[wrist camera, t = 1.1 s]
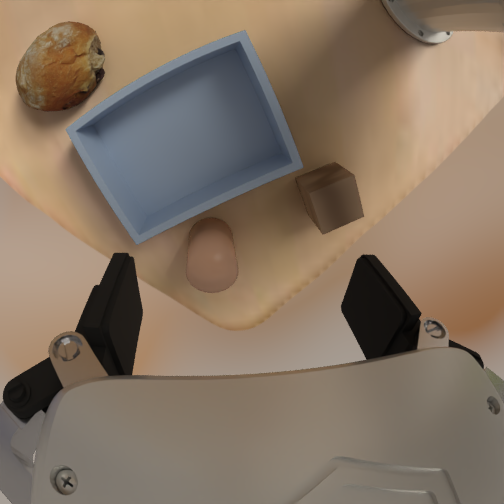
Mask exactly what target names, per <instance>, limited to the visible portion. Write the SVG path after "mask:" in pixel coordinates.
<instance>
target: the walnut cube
mask: <svg viewBox="0 0 504 504" xmlns="http://www.w3.org/2000/svg"><path fill="white" fill-rule="evenodd" d="M295 179H296V182H297V184H298V187H299V190H300V192H301V195H302V198H303V201H304V203H305V206H306V209H307V212H308V215H309V216H310V218H311V219H312V220H313V222H314V223H315V224H316V226H317V227H318V229H319V230H320V231H321V233H322V234H326V233H328V232H330V231H332V230H335V229H337V228H339V227H341V226H344V225H346V224H348V223H350V222H353V221H355V220H357V219H359V218H362V217H364V214H363V209H362V205H361V201H360V196H359V192H358V188H357V184H356V180H355V176H354V174H352V173H351V172H349V171H348V170H346V169H345V168H343V167H342V166H340V165H339V164H337V163H336V162H333V163H331V164H328V165H326V166H323V167H321V168H318V169H316V170H314V171H311V172H309V173H306V174H304V175H301V176H299V177H297V178H295Z"/></svg>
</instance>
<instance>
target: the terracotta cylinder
mask: <svg viewBox="0 0 504 504" xmlns="http://www.w3.org/2000/svg"><path fill="white" fill-rule="evenodd" d="M186 275H187V278H188V281H189V282H190V283H191V285H192V286H194V287H195V288H196V289H198V290H200V291H203V292H208V293H215V292H221V291H223V290H226V289H227V288H229V287H230V286H231V285H232V284H233V283H234V282H235V280H236V279H237V276H238V266H237V260H236V254H235V248H234V242H233V236H232V231H231V229H230V227H229V226H228V225H227V224H226V223H225V222H224V221H222V220H220V219H217V218H206V219H202V220H200V221H198V222H197V223H196V224H195V225H194V226H193V227H192V229H191V231H190V237H189V246H188V256H187V267H186Z"/></svg>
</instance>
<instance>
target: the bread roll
mask: <svg viewBox="0 0 504 504" xmlns="http://www.w3.org/2000/svg"><path fill="white" fill-rule="evenodd" d="M100 44H101V42H100V40H99V38H98V36H97V34H96V31H94V30H93V29H92V28H90V27H89V26H87V25H85V24H82V23H79V22H77V23H76V22H64V23H59V24H57V25H55V26H53V27H51V28H49V29H48V30H47V31H45V32H44V33H42V34H41V35H40V36H38V37H37V38H36V39H35V40H34V42H33V43H32V44H31V45H30V47H29V48H28V50H27V51H26V53H25V54H24V56H23V57H22V59H21V60H20V62H19V65H18V68H17V72H16V85H17V89H18V92H19V94H20V96H21V97H22V99H23V101H24V103H25V104H26V105H28V106H29V107H31V108H34V109H37V110H38V109H39V110H43V111H59V110H66V109H69V108H71V107H73V106H76V105H78V104H79V103H81V102H82V101H83V100H84V99H85V98H87V96H88V95H89V94H90V93H91V92H92V91H93V90H94V88H95V86H96V84H97V83H98V81H100V80H101V79H102V78H103V77H104V74H105V72H104V69H103V63H104V60H105V58H104V57H105V56H104V53H103V51H102V50H101V45H100Z"/></svg>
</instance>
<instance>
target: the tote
mask: <svg viewBox="0 0 504 504" xmlns="http://www.w3.org/2000/svg"><path fill="white" fill-rule="evenodd" d="M66 131H67V133H68V135H69V137H70V139H71V141H72V142H73V144H74V146H75V148H76V150H77V151H78V153H79V155H80V157H81V158H82V160H83V162H84V164H85V165H86V167H87V169H88V171H89V172H90V174H91V176H92V177H93V179H94V181H95V182H96V184H97V185H98V187H99V189H100V190H101V192H102V194H103V195H104V197H105V198H106V200H107V201H108V203H109V205H110V206H111V208H112V209H113V211H114V212H115V214H116V215H117V217H118V218H119V220H120V221H121V223H122V224H123V226H124V227H125V229H126V230H127V232H128V233H129V235H130V236H131V238H132V239H133V240H134V242H135V243H136V245H138V244H140V243H142V242H144V241H146V240H148V239H150V238H152V237H153V236H155V235H157V234H159V233H161V232H163V231H165V230H167V229H169V228H171V227H173V226H175V225H177V224H179V223H181V222H183V221H185V220H187V219H189V218H192V217H194V216H196V215H198V214H200V213H202V212H204V211H206V210H208V209H210V208H212V207H215V206H217V205H219V204H221V203H223V202H225V201H228V200H230V199H232V198H234V197H236V196H239V195H241V194H243V193H245V192H247V191H250V190H252V189H254V188H256V187H259V186H261V185H263V184H266V183H268V182H270V181H273V180H275V179H277V178H280V177H282V176H284V175H287V174H289V173H292V172H294V171H296V170H299V169H301V168H304V167H303V164H302V161H301V159H300V156H299V153H298V151H297V148H296V145H295V143H294V140H293V137H292V135H291V132H290V130H289V127H288V125H287V122H286V120H285V117H284V115H283V112H282V110H281V107H280V105H279V103H278V100H277V98H276V96H275V93H274V91H273V89H272V86H271V84H270V82H269V79H268V77H267V75H266V73H265V71H264V68H263V66H262V64H261V62H260V60H259V57H258V55H257V53H256V51H255V49H254V47H253V45H252V43H251V41H250V39H249V37H248V35H247V33H246V31H245V30H244V31H241V32H238V33H235V34H233V35H230V36H227V37H224V38H222V39H219V40H217V41H214V42H212V43H209V44H207V45H205V46H202V47H200V48H198V49H195V50H193V51H191V52H189V53H187V54H184V55H182V56H180V57H178V58H176V59H174V60H172V61H170V62H168V63H166V64H164V65H162V66H160V67H158V68H157V69H155V70H153V71H151V72H149V73H147V74H146V75H144V76H142V77H140V78H139V79H137V80H135V81H134V82H132V83H130V84H129V85H127V86H125V87H124V88H122V89H121V90H119V91H117V92H116V93H114V94H113V95H111V96H110V97H108V98H107V99H105V100H104V101H102V102H101V103H100V104H98V105H97V106H95V107H94V108H93V109H91V110H90V111H88V112H87V113H86V114H84V115H83V116H82V117H80V118H79V119H78V120H76V121H75V122H74V123H73V124H71V125H70V126H69V127H68V128H66Z"/></svg>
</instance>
